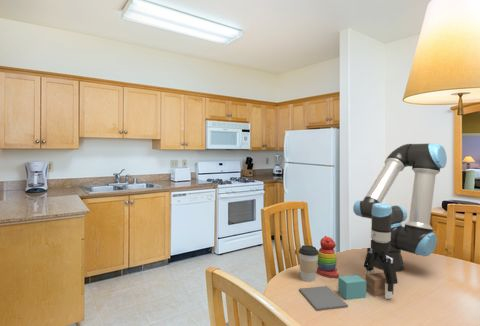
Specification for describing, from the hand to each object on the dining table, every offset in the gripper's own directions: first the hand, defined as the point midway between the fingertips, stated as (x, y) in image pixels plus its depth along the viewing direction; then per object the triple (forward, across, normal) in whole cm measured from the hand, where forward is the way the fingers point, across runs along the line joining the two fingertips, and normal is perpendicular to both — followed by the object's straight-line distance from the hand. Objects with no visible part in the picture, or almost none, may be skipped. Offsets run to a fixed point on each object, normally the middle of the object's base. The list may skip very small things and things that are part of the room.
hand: (378, 291), depth 122 cm
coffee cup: (0, -18, -24) cm, 30 cm away
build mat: (0, 0, -26) cm, 26 cm away
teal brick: (0, 0, -13) cm, 13 cm away
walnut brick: (0, 0, 0) cm, 0 cm away
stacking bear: (0, -22, -12) cm, 25 cm away
